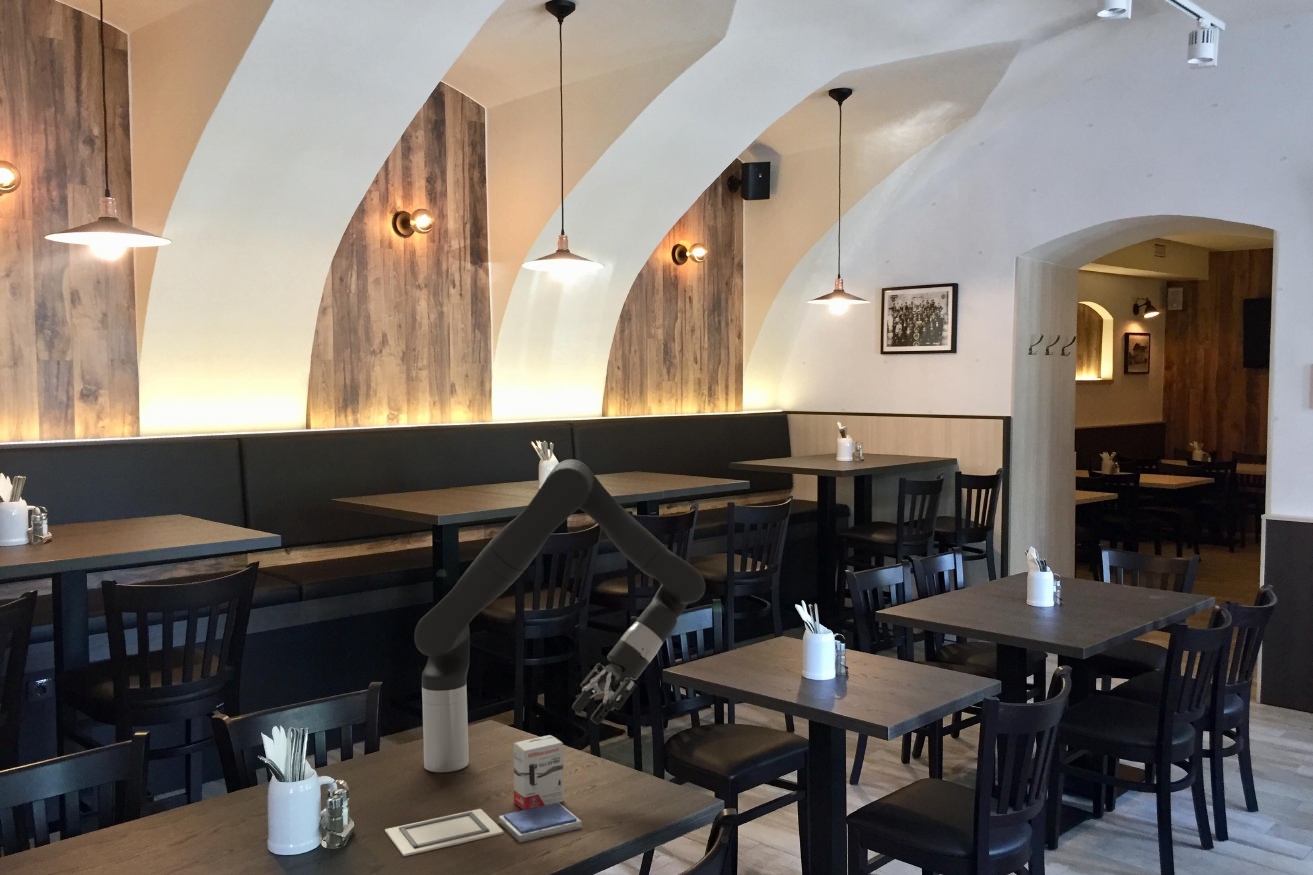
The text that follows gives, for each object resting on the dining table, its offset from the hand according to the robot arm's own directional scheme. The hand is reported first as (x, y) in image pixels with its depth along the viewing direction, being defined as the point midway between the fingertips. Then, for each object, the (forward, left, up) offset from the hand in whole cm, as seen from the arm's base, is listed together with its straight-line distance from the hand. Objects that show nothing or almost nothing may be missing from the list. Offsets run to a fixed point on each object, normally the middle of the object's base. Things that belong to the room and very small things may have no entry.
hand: (584, 716), depth 208 cm
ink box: (0, -10, -15) cm, 18 cm away
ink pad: (+10, -14, -15) cm, 23 cm away
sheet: (+4, -30, -15) cm, 34 cm away
